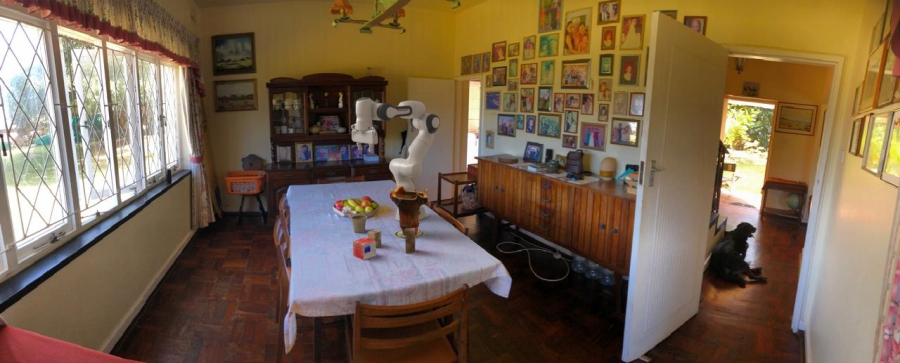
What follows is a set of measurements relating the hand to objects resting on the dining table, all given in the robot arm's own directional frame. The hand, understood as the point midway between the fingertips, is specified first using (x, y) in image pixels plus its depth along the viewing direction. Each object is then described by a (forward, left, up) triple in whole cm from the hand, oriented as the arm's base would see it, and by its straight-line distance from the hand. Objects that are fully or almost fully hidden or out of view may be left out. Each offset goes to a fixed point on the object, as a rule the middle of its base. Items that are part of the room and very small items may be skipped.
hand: (365, 150), depth 247 cm
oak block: (+13, +25, -48) cm, 55 cm away
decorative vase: (-13, +23, -48) cm, 54 cm away
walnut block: (+5, +45, -48) cm, 65 cm away
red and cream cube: (+25, +33, -48) cm, 63 cm away
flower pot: (+5, -1, -48) cm, 48 cm away
